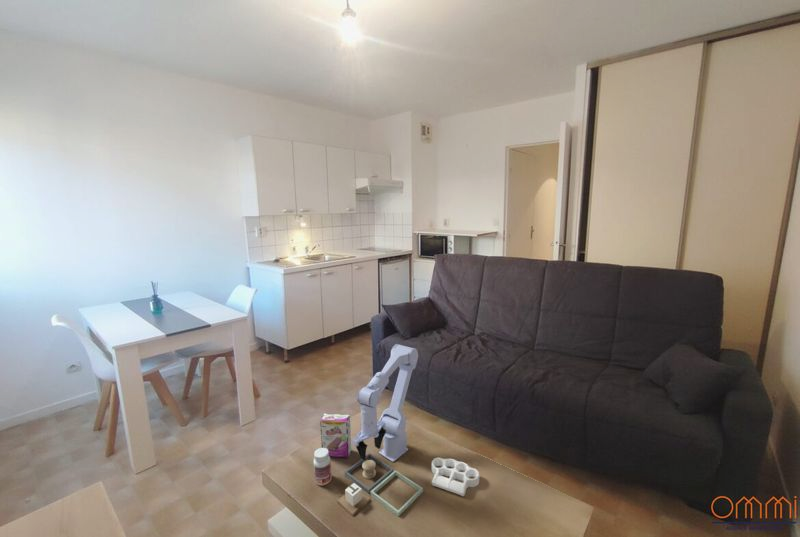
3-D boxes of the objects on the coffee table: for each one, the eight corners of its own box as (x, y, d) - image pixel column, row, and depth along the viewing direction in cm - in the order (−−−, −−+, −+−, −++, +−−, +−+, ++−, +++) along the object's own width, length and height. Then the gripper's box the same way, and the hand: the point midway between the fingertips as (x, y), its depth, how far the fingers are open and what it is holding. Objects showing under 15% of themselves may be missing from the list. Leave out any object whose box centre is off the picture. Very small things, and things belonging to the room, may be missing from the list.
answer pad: (354, 488, 125) (354, 486, 125) (370, 500, 120) (370, 498, 119) (337, 502, 119) (337, 500, 119) (352, 515, 114) (352, 513, 114)
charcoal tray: (369, 456, 140) (369, 453, 140) (393, 472, 132) (393, 468, 132) (344, 475, 131) (344, 471, 131) (368, 493, 122) (368, 489, 122)
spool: (369, 467, 135) (369, 457, 134) (378, 473, 132) (378, 464, 131) (359, 474, 131) (359, 465, 130) (369, 481, 128) (368, 471, 127)
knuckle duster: (423, 484, 126) (437, 458, 139) (472, 502, 119) (482, 472, 132) (423, 476, 126) (437, 451, 139) (472, 494, 118) (482, 465, 131)
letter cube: (354, 492, 122) (354, 482, 121) (362, 499, 119) (361, 488, 118) (345, 500, 119) (345, 489, 118) (353, 506, 116) (352, 495, 115)
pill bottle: (334, 481, 128) (332, 453, 126) (318, 488, 125) (316, 460, 123) (327, 470, 133) (326, 444, 131) (312, 477, 130) (310, 450, 128)
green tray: (395, 473, 131) (395, 470, 131) (422, 491, 123) (422, 488, 122) (370, 495, 122) (370, 491, 121) (398, 516, 113) (398, 512, 113)
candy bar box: (321, 457, 140) (319, 420, 137) (325, 448, 145) (323, 412, 142) (349, 458, 139) (347, 421, 136) (351, 449, 144) (350, 413, 141)
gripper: (361, 434, 119) (363, 469, 121) (390, 414, 129) (391, 447, 132) (348, 425, 123) (349, 459, 126) (377, 407, 134) (378, 439, 136)
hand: (370, 452), depth 129 cm, fingers open, 7 cm apart
